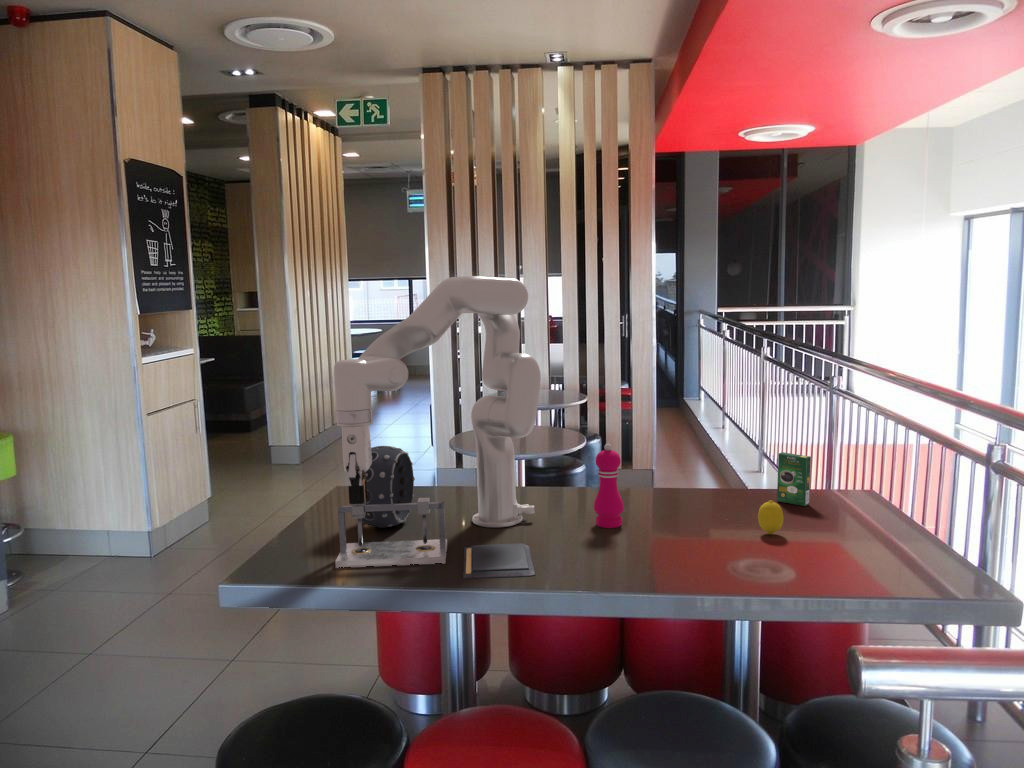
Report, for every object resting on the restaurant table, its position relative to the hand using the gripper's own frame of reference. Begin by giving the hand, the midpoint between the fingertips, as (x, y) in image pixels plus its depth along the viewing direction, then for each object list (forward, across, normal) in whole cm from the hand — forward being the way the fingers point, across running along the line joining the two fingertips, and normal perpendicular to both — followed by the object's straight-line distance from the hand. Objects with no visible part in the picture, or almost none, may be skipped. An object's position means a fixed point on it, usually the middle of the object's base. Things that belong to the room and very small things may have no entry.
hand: (358, 500), depth 165 cm
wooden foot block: (+10, 0, 0) cm, 10 cm away
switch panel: (+13, 0, -7) cm, 15 cm away
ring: (+13, +24, -2) cm, 27 cm away
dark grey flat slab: (+14, -6, -30) cm, 33 cm away
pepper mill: (+13, +17, -58) cm, 61 cm away
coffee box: (+13, +29, -108) cm, 113 cm away
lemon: (+13, +4, -92) cm, 94 cm away
